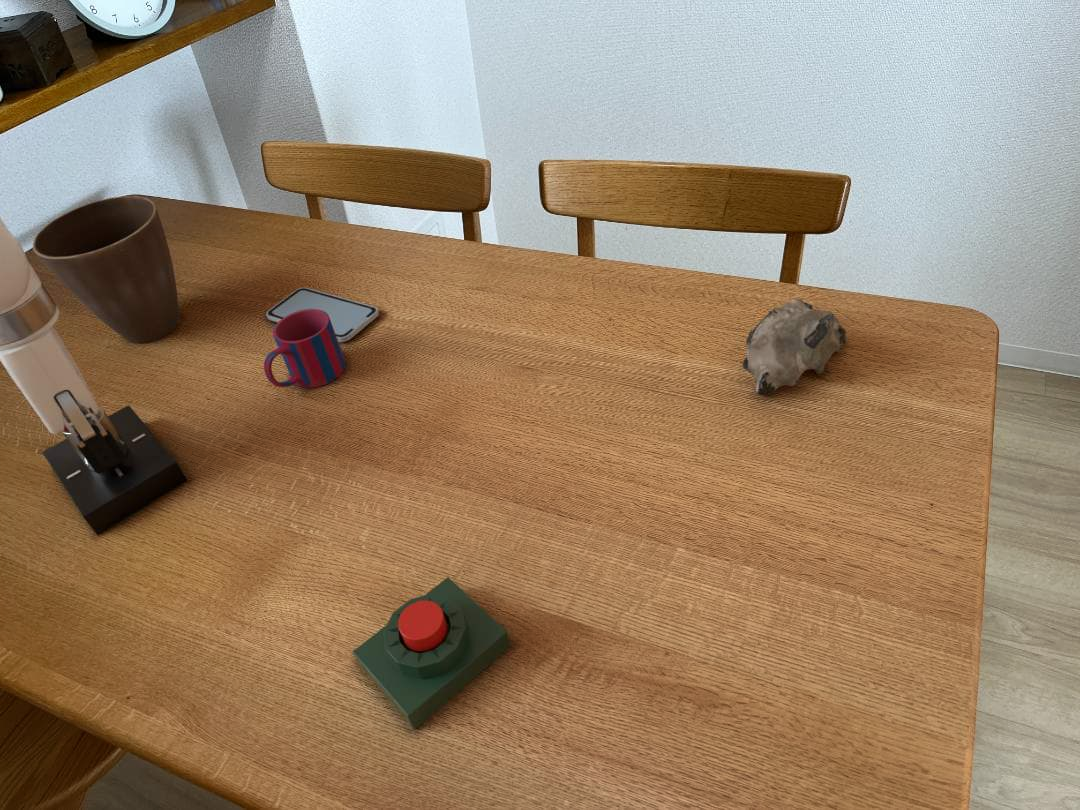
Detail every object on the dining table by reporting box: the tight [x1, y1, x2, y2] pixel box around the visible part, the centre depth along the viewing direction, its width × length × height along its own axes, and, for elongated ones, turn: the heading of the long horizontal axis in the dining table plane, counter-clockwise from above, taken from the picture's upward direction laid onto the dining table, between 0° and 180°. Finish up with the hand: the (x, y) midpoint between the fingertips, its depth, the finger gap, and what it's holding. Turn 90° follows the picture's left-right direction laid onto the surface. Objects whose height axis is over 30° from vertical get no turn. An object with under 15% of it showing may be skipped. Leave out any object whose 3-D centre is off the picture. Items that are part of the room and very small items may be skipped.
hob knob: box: [60, 404, 128, 471], centre depth 85 cm, size 4×4×6 cm
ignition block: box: [352, 576, 512, 731], centre depth 66 cm, size 10×8×4 cm
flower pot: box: [32, 195, 180, 344], centre depth 106 cm, size 15×15×16 cm
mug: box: [263, 309, 347, 388], centre depth 96 cm, size 7×10×7 cm
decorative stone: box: [741, 298, 847, 397], centre depth 85 cm, size 16×9×10 cm, turn 149°
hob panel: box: [41, 404, 188, 536], centre depth 88 cm, size 14×10×3 cm
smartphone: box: [266, 287, 380, 343], centre depth 107 cm, size 7×1×15 cm
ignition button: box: [398, 601, 447, 652], centre depth 64 cm, size 4×4×2 cm
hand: (103, 451), depth 86 cm, fingers closed on hob knob, 4 cm apart
